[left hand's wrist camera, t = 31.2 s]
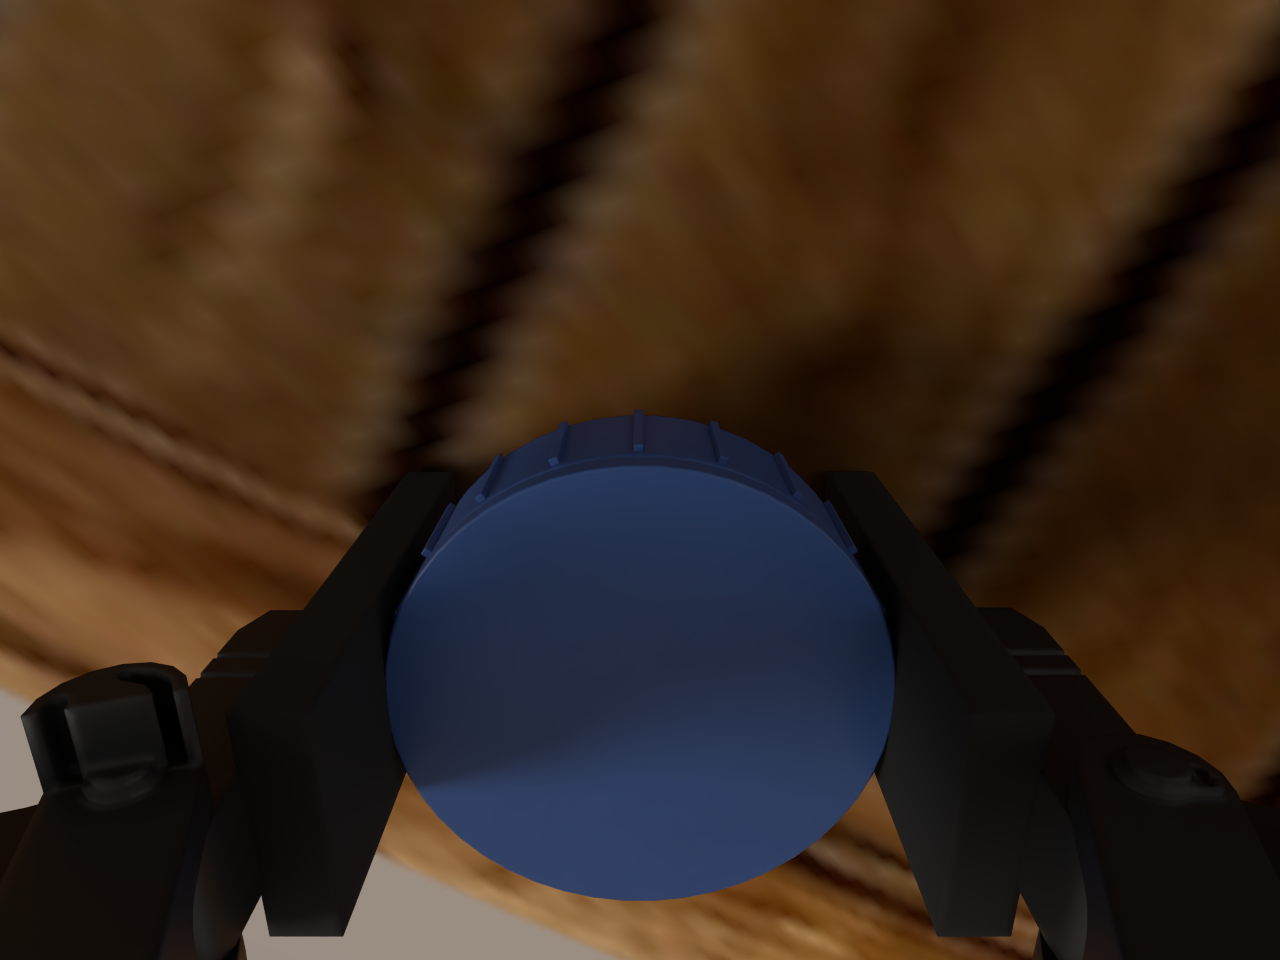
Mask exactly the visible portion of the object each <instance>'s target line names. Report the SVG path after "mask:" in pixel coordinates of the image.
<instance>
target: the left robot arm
mask: <svg viewBox="0 0 1280 960" xmlns="http://www.w3.org/2000/svg"><path fill="white" fill-rule="evenodd" d="M827 500H829V501H830V503H831V504H832V506H833V508H834V509H835V511H836V513H837V515H838V516H839V518H840V520H841V522H842V524H843V525H844V527H845V529H846V531H847V532H848V534H849V536H850V538H851V540H852V541H853V543H854V545H855V547H856V548H857V550H858V552H856V553H855V554H853V556H854V558H855V559H858V561H859V562H860V564H861V566H862V568H863V570H864V571H865V573H866V575H867V577H868V579H869V581H870V582H871V584H872V586H873V588H874V590H875V591H876V593H877V595H878V597H879V599H880V600H881V602H882V604H883V606H884V608H885V610H886V612H887V616H888V617H887V618H885V620H886V623H887V626H888V629H889V632H890V635H891V640H892V646H893V651H894V657H895V662H896V681H895V691H894V699H893V707H892V716H891V723H890V730H889V735H888V738H887V742H886V745H885V749H884V751H883V753H882V755H881V758H880V760H879V762H878V764H877V766H876V769H875V771H874V772H875V775H876V777H877V780H878V783H879V785H880V788H881V790H882V793H883V796H884V798H885V801H886V804H887V806H888V809H889V811H890V814H891V817H892V819H893V822H894V824H895V827H896V830H897V832H898V835H899V837H900V840H901V843H902V845H903V848H904V850H905V853H906V856H907V858H908V861H909V863H910V866H911V869H912V871H913V874H914V876H915V879H916V882H917V884H918V887H919V889H920V892H921V895H922V897H923V900H924V902H925V905H926V908H927V910H928V913H929V915H930V918H931V921H932V923H933V926H934V928H935V931H936V934H937V936H1011V934H1012V929H1013V924H1014V919H1015V914H1016V909H1017V904H1018V899H1019V894H1020V893H1021V895H1022V897H1023V899H1024V900H1025V902H1026V904H1027V906H1028V908H1029V910H1030V912H1031V914H1032V916H1033V918H1034V920H1035V922H1036V924H1037V925H1038V927H1039V931H1038V936H1037V940H1036V945H1035V950H1034V954H1033V959H1032V960H1280V809H1277V808H1272V807H1268V806H1263V805H1258V804H1254V803H1250V802H1246V801H1242V800H1240V798H1239V796H1238V794H1237V792H1236V790H1235V789H1234V788H1233V787H1232V785H1231V784H1230V783H1229V781H1228V780H1227V779H1226V778H1225V776H1224V775H1223V774H1222V773H1221V772H1220V771H1218V770H1217V769H1216V768H1214V767H1213V766H1212V765H1210V764H1209V763H1207V762H1206V761H1205V760H1203V759H1202V758H1201V757H1199V756H1198V755H1195V754H1193V753H1191V752H1189V751H1187V750H1185V749H1183V748H1180V747H1178V746H1176V745H1174V744H1172V743H1170V742H1166V741H1162V740H1159V739H1155V738H1151V737H1147V736H1144V735H1140V734H1136V733H1135V732H1134V731H1133V730H1132V729H1131V728H1130V726H1129V725H1128V724H1127V723H1126V722H1125V721H1124V719H1123V718H1122V717H1121V716H1120V715H1119V714H1118V713H1117V711H1116V710H1115V709H1114V708H1113V707H1112V706H1111V705H1110V703H1109V702H1108V701H1107V700H1106V699H1105V698H1104V696H1103V695H1102V694H1101V693H1100V692H1099V691H1098V690H1097V688H1096V687H1095V686H1094V685H1093V684H1092V683H1091V681H1090V680H1089V679H1088V678H1087V677H1086V676H1085V675H1081V670H1080V669H1079V668H1078V667H1077V665H1076V664H1075V663H1074V662H1073V661H1072V660H1071V658H1070V657H1069V656H1068V655H1064V650H1063V649H1062V648H1061V647H1060V646H1059V645H1058V643H1057V642H1056V641H1055V640H1054V639H1053V638H1052V637H1051V635H1050V634H1049V633H1048V632H1047V631H1046V630H1045V628H1044V627H1042V626H1040V625H1039V624H1037V623H1035V622H1034V621H1032V620H1030V619H1029V618H1027V617H1025V616H1024V615H1022V614H1020V613H1019V612H1017V611H1016V610H1014V609H1012V608H976V607H975V606H974V605H973V603H972V602H971V601H970V599H969V598H968V597H967V596H966V594H965V593H964V592H963V590H962V589H961V588H960V586H959V585H958V584H957V582H956V581H955V580H954V578H953V577H952V576H951V574H950V573H949V572H948V570H947V569H946V568H945V566H944V565H943V564H942V562H941V561H940V560H939V558H938V557H937V556H936V554H935V553H934V552H933V550H932V549H931V548H930V546H929V545H928V544H927V542H926V541H925V540H924V538H923V537H922V536H921V535H920V533H919V532H918V531H917V529H916V528H915V527H914V525H913V524H912V523H911V521H910V520H909V519H908V517H907V516H906V515H905V513H904V512H903V511H902V509H901V508H900V507H899V505H898V504H897V503H896V501H895V500H894V499H893V497H892V496H891V495H890V493H889V492H888V491H887V489H886V488H885V487H884V485H883V484H882V483H881V481H880V480H879V479H878V477H877V476H876V475H875V474H874V472H827V479H826V492H825V502H826V501H827ZM450 503H452V504H454V505H455V506H456V494H455V482H454V472H407V473H406V475H405V476H404V477H403V479H402V480H401V481H400V483H399V484H398V485H397V487H396V488H395V489H394V491H393V492H392V493H391V494H390V496H389V497H388V498H387V500H386V501H385V502H384V504H383V505H382V506H381V508H380V509H379V510H378V512H377V513H376V514H375V516H374V517H373V518H372V520H371V521H370V522H369V524H368V525H367V526H366V528H365V529H364V530H363V532H362V533H361V534H360V536H359V537H358V538H357V540H356V541H355V542H354V544H353V545H352V546H351V548H350V549H349V550H348V552H347V553H346V554H345V555H344V557H343V558H342V559H341V561H340V562H339V563H338V565H337V566H336V567H335V569H334V570H333V571H332V573H331V574H330V575H329V577H328V578H327V579H326V581H325V582H324V583H323V585H322V586H321V587H320V589H319V590H318V591H317V593H316V594H315V595H314V597H313V598H312V599H311V601H310V602H309V603H308V605H307V606H306V607H305V609H304V610H270V611H269V612H267V613H265V614H264V615H262V616H260V617H259V618H257V619H256V620H254V621H252V622H251V623H249V624H247V625H246V626H244V627H242V628H241V629H239V630H238V631H237V632H236V633H235V634H234V635H233V636H232V638H231V639H230V640H229V641H228V642H227V643H226V645H225V646H224V647H223V648H222V649H221V650H220V651H219V653H218V657H217V658H213V660H212V661H211V662H210V663H209V664H208V665H207V667H206V668H205V669H204V670H203V671H202V672H201V677H200V678H196V679H195V680H194V682H193V683H192V684H191V685H190V686H188V682H187V677H186V675H185V674H183V673H182V672H181V671H179V670H178V669H176V668H175V667H174V666H169V665H164V664H158V663H153V662H148V663H131V664H121V665H117V666H112V667H108V668H104V669H100V670H95V671H92V672H89V673H87V674H84V675H82V676H79V677H77V678H74V679H72V680H69V681H67V682H64V683H62V684H60V685H58V686H57V687H55V688H54V689H52V690H50V691H49V692H47V693H46V694H44V695H42V696H41V697H39V698H38V699H36V700H35V701H34V702H33V704H32V705H31V706H30V707H29V708H28V709H27V710H26V711H25V712H24V713H23V714H22V715H21V720H22V723H23V726H24V730H25V733H26V736H27V740H28V743H29V746H30V749H31V753H32V756H33V760H34V763H35V766H36V769H37V773H38V776H39V779H40V783H41V786H42V789H43V795H42V797H41V799H40V801H39V804H38V805H34V806H30V807H26V808H22V809H17V810H12V811H7V812H2V813H0V960H247V957H246V950H245V945H244V940H243V936H242V931H243V929H244V928H245V926H246V924H247V922H248V920H249V918H250V916H251V914H252V912H253V910H254V908H255V906H256V904H257V902H258V901H259V899H260V897H261V896H262V901H263V905H264V910H265V915H266V920H267V925H268V930H269V935H270V936H343V935H344V933H345V930H346V928H347V925H348V922H349V920H350V917H351V915H352V912H353V909H354V907H355V904H356V902H357V899H358V896H359V894H360V891H361V889H362V886H363V883H364V881H365V878H366V876H367V873H368V870H369V868H370V865H371V863H372V860H373V857H374V855H375V852H376V850H377V847H378V844H379V842H380V839H381V837H382V834H383V831H384V829H385V826H386V824H387V821H388V818H389V816H390V813H391V811H392V808H393V805H394V803H395V800H396V798H397V795H398V792H399V790H400V787H401V785H402V782H403V779H404V777H405V774H406V770H405V767H404V765H403V763H402V760H401V758H400V756H399V754H398V751H397V749H396V747H395V743H394V740H393V736H392V732H391V725H390V718H389V710H388V702H387V693H386V684H385V660H386V655H387V650H388V645H389V640H390V635H391V631H392V628H393V625H394V622H395V621H393V620H392V619H393V615H394V613H395V611H396V609H397V607H398V605H399V603H400V601H401V600H402V598H403V596H404V594H405V592H406V590H407V589H408V587H409V585H410V583H411V581H412V579H413V578H414V576H415V574H416V572H417V570H418V568H419V567H420V565H421V563H422V562H424V561H425V559H426V557H424V556H423V555H421V553H422V551H423V549H424V548H425V546H426V544H427V542H428V540H429V539H430V537H431V535H432V533H433V531H434V530H435V528H436V526H437V524H438V522H439V521H440V519H441V517H442V515H443V514H444V512H445V510H446V508H447V507H448V505H449V504H450Z"/></svg>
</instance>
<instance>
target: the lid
mask: <svg viewBox="0 0 1280 960" xmlns="http://www.w3.org/2000/svg"><path fill="white" fill-rule="evenodd" d="M856 552H858V550H857V548H856V547H855V545H854V543H853V541H852V540H851V538H850V536H849V534H848V532H847V531H846V529H845V527H844V525H843V524H842V522H841V520H840V518H839V516H838V515H837V513H836V511H835V509H834V508H833V506H832V504H831V503H830V501H829V500H827V501H826V502H824V503H822V501H821V500H820V499H819V497H818V496H817V495H816V493H815V492H814V491H813V490H812V489H811V488H810V487H809V486H808V485H807V484H806V483H805V482H804V481H803V480H802V479H801V478H800V477H799V476H798V475H797V473H796V472H795V471H793V470H792V469H791V468H789V466H788V464H787V462H786V460H785V458H784V456H783V455H782V454H781V453H779V452H777V453H776V454H775V455H772V454H771V453H769V452H767V451H766V450H764V449H762V448H760V447H759V446H757V445H755V444H753V443H752V442H750V441H748V440H746V439H744V438H742V437H739V436H737V435H735V434H732V433H730V432H727V431H725V430H722V429H720V427H719V424H718V422H715V421H712V420H710V423H709V425H706V424H702V423H698V422H695V421H691V420H686V419H678V418H671V417H663V416H643V410H635V411H634V416H618V417H610V418H602V419H594V420H590V421H586V422H583V423H579V424H575V425H571V426H569V425H568V422H567V421H565V422H562V423H560V424H559V427H558V430H556V431H554V432H551V433H549V434H546V435H543V436H541V437H538V438H536V439H535V440H533V441H531V442H529V443H527V444H526V445H524V446H522V447H520V448H518V449H517V450H515V451H513V452H511V453H510V454H509V455H507V456H506V457H505V458H504V457H503V456H502V455H501V454H499V455H497V456H496V457H495V458H494V460H493V462H492V464H491V466H490V468H489V469H488V470H487V471H486V472H485V473H484V474H483V475H482V476H481V477H480V478H479V479H478V480H477V481H476V482H475V483H474V484H473V485H472V486H471V487H470V488H469V489H468V490H467V492H466V493H465V494H464V496H463V497H462V498H461V500H460V501H459V502H458V503H457V505H456V506H455V505H454V504H452V503H450V504H449V505H448V507H447V508H446V510H445V512H444V514H443V515H442V517H441V519H440V521H439V522H438V524H437V526H436V528H435V530H434V531H433V533H432V535H431V537H430V539H429V540H428V542H427V544H426V546H425V548H424V549H423V551H422V553H421V555H423V556H424V557H426V559H425V561H424V562H422V563H421V565H420V567H419V568H418V570H417V572H416V574H415V576H414V578H413V579H412V581H411V583H410V585H409V587H408V589H407V590H406V592H405V594H404V596H403V598H402V600H401V601H400V603H399V605H398V607H397V609H396V611H395V613H394V615H393V619H392V620H393V621H395V622H394V625H393V628H392V631H391V635H390V640H389V645H388V650H387V655H386V660H385V684H386V693H387V702H388V710H389V718H390V725H391V732H392V736H393V740H394V743H395V747H396V749H397V751H398V754H399V756H400V758H401V760H402V763H403V765H404V767H405V770H406V772H407V774H408V775H409V777H410V778H411V780H412V782H413V783H414V785H415V787H416V788H417V790H418V791H419V793H420V795H421V796H422V797H423V799H424V800H425V801H426V802H427V804H428V805H429V806H430V807H431V809H432V810H433V811H434V812H435V813H436V815H437V816H438V817H439V818H440V819H441V820H442V821H443V822H444V823H445V824H446V825H447V826H448V827H449V828H450V829H451V830H452V831H453V832H454V833H455V834H457V835H458V836H459V837H460V838H461V839H462V840H464V841H465V842H466V843H468V844H469V845H470V846H472V847H473V848H474V849H476V850H477V851H478V852H480V853H481V854H482V855H484V856H485V857H487V858H489V859H491V860H492V861H494V862H496V863H497V864H499V865H501V866H503V867H504V868H506V869H508V870H510V871H512V872H514V873H517V874H519V875H521V876H523V877H526V878H528V879H530V880H532V881H535V882H537V883H540V884H544V885H547V886H550V887H553V888H556V889H559V890H562V891H566V892H571V893H575V894H580V895H585V896H590V897H595V898H605V899H614V900H624V901H656V900H666V899H676V898H685V897H690V896H695V895H700V894H705V893H710V892H715V891H718V890H721V889H724V888H728V887H731V886H734V885H737V884H741V883H743V882H746V881H748V880H750V879H753V878H755V877H757V876H760V875H762V874H764V873H767V872H769V871H771V870H773V869H774V868H776V867H778V866H780V865H781V864H783V863H785V862H787V861H788V860H790V859H792V858H794V857H795V856H797V855H798V854H799V853H801V852H802V851H804V850H805V849H806V848H808V847H809V846H810V845H812V844H813V843H815V842H816V841H817V840H819V839H820V838H821V837H822V836H823V835H824V834H825V833H826V832H827V831H828V830H829V829H830V828H832V827H833V826H834V825H835V824H836V823H837V822H838V821H839V820H840V819H841V818H842V816H843V815H844V814H845V813H846V812H847V810H848V809H849V808H850V807H851V806H852V805H853V803H854V802H855V801H856V800H857V799H858V797H859V795H860V794H861V792H862V791H863V789H864V788H865V786H866V784H867V783H868V781H869V780H870V778H871V776H872V775H873V773H874V771H875V769H876V766H877V764H878V762H879V760H880V758H881V755H882V753H883V751H884V749H885V745H886V742H887V738H888V735H889V730H890V723H891V716H892V707H893V699H894V691H895V681H896V662H895V657H894V651H893V646H892V640H891V635H890V632H889V629H888V626H887V623H886V620H885V618H887V617H888V616H887V612H886V610H885V608H884V606H883V604H882V602H881V600H880V599H879V597H878V595H877V593H876V591H875V590H874V588H873V586H872V584H871V582H870V581H869V579H868V577H867V575H866V573H865V571H864V570H863V568H862V566H861V564H860V562H859V561H858V559H855V558H854V556H853V554H855V553H856Z"/></svg>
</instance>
